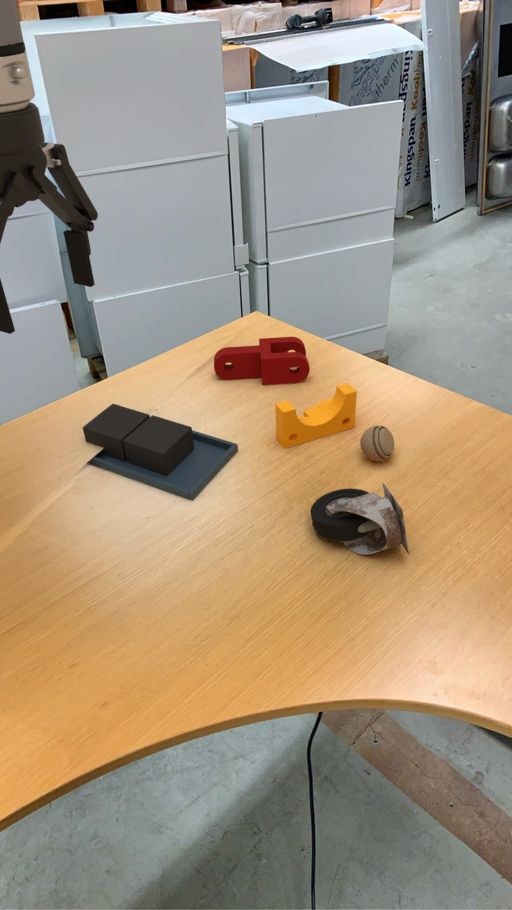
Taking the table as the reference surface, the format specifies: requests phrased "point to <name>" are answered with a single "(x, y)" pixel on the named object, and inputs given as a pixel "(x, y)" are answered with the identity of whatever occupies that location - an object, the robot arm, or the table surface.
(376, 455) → the tan ball
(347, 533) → the caster wheel
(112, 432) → the pad
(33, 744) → the table surface
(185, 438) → the dark rectangular block
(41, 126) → the robot arm
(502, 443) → the table surface
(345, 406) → the pipe clamp
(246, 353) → the mechanical linkage
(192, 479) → the dark blue tray
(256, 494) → the table surface
